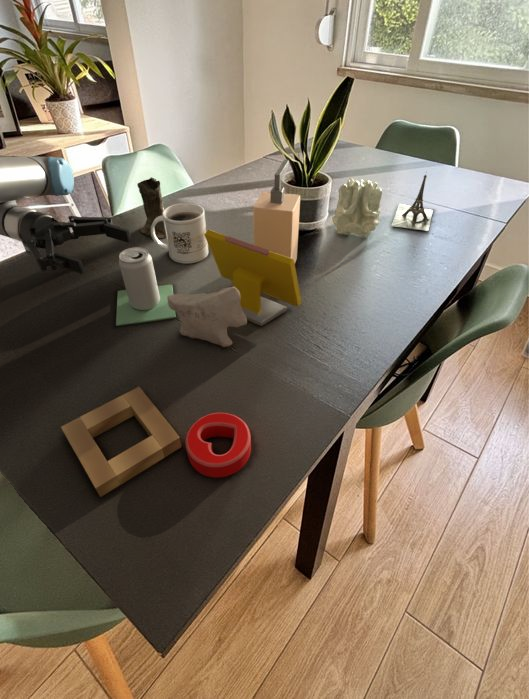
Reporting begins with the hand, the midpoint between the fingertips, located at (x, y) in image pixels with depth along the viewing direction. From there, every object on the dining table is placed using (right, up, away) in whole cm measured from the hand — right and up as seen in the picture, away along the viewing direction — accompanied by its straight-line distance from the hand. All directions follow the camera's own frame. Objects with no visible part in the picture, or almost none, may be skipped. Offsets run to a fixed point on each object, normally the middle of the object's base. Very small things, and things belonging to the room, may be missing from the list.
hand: (106, 251), depth 87 cm
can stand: (+10, -34, -20) cm, 41 cm away
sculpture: (+22, -19, -4) cm, 29 cm away
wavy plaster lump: (+57, +13, +31) cm, 66 cm away
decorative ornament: (+25, -35, -21) cm, 48 cm away
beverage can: (+7, -10, +5) cm, 13 cm away
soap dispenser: (+35, +2, +18) cm, 40 cm away
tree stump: (+3, +13, +30) cm, 33 cm away
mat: (+7, -10, +5) cm, 13 cm away
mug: (+12, +4, +21) cm, 25 cm away
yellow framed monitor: (+29, -11, +4) cm, 32 cm away
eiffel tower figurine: (+74, +17, +35) cm, 84 cm away
